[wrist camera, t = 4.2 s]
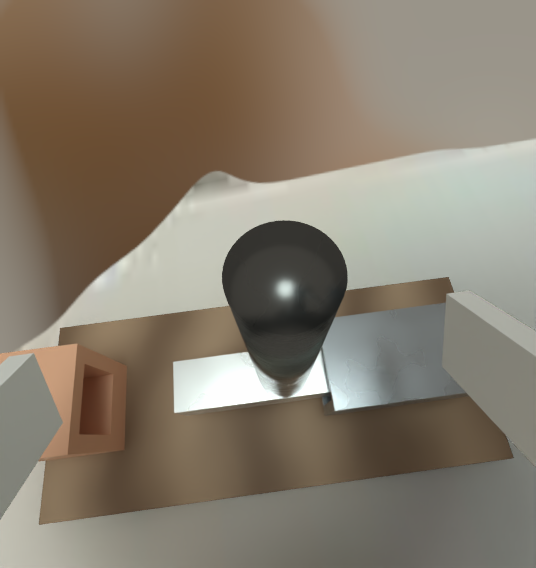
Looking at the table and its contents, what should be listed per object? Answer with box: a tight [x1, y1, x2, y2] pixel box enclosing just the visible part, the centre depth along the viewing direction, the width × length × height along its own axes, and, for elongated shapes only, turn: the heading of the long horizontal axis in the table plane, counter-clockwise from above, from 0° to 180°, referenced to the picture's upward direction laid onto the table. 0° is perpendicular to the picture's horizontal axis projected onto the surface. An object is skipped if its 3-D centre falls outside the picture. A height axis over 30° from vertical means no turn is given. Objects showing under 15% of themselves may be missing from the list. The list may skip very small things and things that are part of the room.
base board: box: [39, 277, 514, 525], centre depth 22 cm, size 26×11×1 cm, turn 97°
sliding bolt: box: [173, 221, 347, 416], centre depth 13 cm, size 17×2×14 cm, turn 97°
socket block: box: [0, 344, 127, 461], centre depth 19 cm, size 4×5×6 cm
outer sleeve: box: [321, 303, 469, 416], centre depth 19 cm, size 8×4×6 cm, turn 97°
